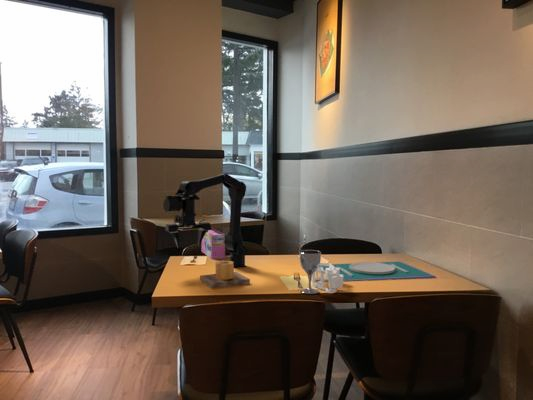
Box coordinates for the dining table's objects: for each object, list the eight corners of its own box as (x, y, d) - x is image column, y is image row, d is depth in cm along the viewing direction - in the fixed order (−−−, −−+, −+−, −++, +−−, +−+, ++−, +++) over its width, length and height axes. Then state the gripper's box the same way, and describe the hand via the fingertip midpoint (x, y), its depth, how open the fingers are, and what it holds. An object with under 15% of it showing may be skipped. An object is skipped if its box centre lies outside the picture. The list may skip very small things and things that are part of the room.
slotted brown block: (236, 276, 191) (236, 256, 190) (249, 284, 178) (249, 262, 178) (199, 280, 184) (199, 259, 183) (211, 288, 171) (211, 266, 171)
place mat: (400, 262, 224) (400, 258, 224) (435, 277, 194) (435, 272, 194) (313, 266, 214) (313, 261, 214) (337, 282, 185) (337, 277, 184)
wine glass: (305, 287, 174) (306, 248, 173) (324, 290, 170) (324, 251, 169) (295, 291, 168) (295, 252, 167) (313, 295, 163) (314, 254, 162)
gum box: (200, 252, 244) (200, 229, 243) (213, 251, 247) (213, 228, 246) (211, 260, 224) (211, 234, 223) (225, 259, 226) (225, 234, 225)
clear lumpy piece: (344, 293, 166) (345, 274, 166) (314, 293, 167) (315, 273, 166) (337, 279, 186) (338, 262, 186) (311, 279, 187) (311, 262, 186)
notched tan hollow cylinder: (229, 274, 186) (229, 260, 185) (236, 278, 179) (236, 263, 179) (213, 276, 182) (213, 261, 182) (219, 280, 176) (219, 265, 176)
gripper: (203, 208, 203) (203, 242, 204) (161, 209, 195) (162, 245, 196) (211, 210, 193) (211, 246, 194) (168, 212, 185) (169, 249, 186)
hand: (188, 246), depth 193 cm, fingers open, 9 cm apart
